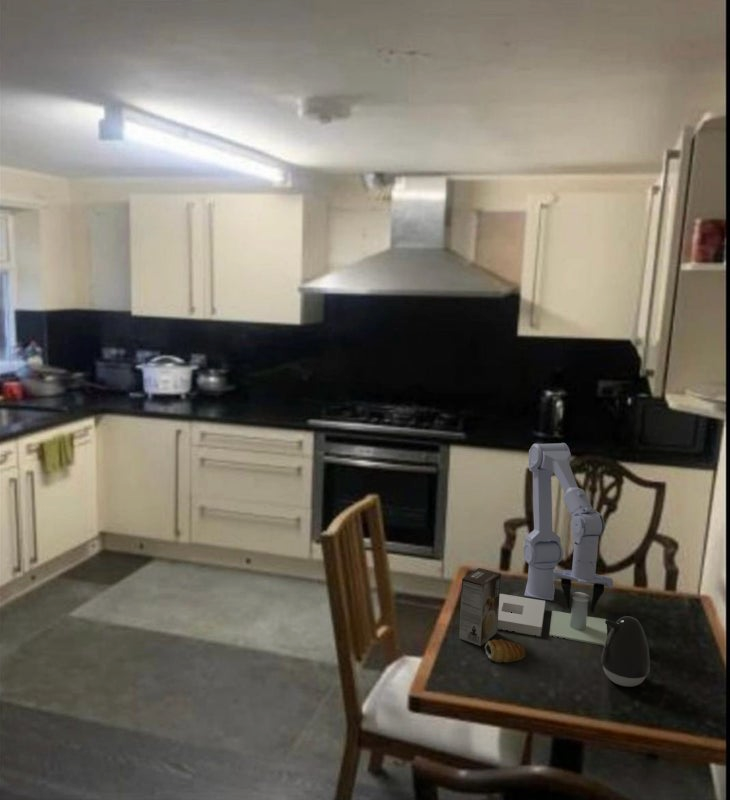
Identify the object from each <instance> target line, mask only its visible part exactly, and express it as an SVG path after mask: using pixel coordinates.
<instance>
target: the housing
mask: <svg viewBox="0 0 730 800" xmlns="http://www.w3.org/2000/svg"><path fill="white" fill-rule="evenodd" d="M545 609H546V600H544V599H538V598H532V597H525V596H524V597H523V596H519V595H517V596H516V595H511V594H505V593H500V595H499V612H498V627H497V630H501V629H502V631H506V630H508V631H507V632H512V631H515V632H514V633H519V634H524V635H529V636H535V635H536V636H535V637H542V630H543V623H544V617H545ZM511 612H512V613H511Z"/></svg>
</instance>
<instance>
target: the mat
mask: <svg viewBox="0 0 730 800" xmlns="http://www.w3.org/2000/svg"><path fill="white" fill-rule="evenodd" d="M570 618H571V612H570V613H569V612H563V611H558V610H552V611H551V617H550V627H549V634H548V636H549V637H552V636H553V637H552V638H557V637H559V638H558V639H563V638H565V639H564V640H569V641H575V642H580V643H581V642H582V643H585V644H586V643H587V644H592V645H599V646H602V647H604V645H605V642H606V639H607V637H608V625H607V624H605V621H606V620H607V619H606V618H602V617H601V618H600V617H593V616H588V615H587V622H586V629H585V630H575V629H573V628H571V627H570Z"/></svg>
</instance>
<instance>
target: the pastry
mask: <svg viewBox="0 0 730 800" xmlns="http://www.w3.org/2000/svg"><path fill="white" fill-rule="evenodd" d="M484 650H485V654H486V656H487V657H488V658H489V660H491V661H492V662H494V663H513V662H515V661H520V660H522V659H523V658H524V659H525V657H526V650H525V647H524V646H523V645H521V644H520V643H516V642H514V641H509V640H504V639H502V638H499V639H494V638H493V639H492V640H488V641H486V642H485V645H484Z"/></svg>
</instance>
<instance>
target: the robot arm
mask: <svg viewBox="0 0 730 800" xmlns="http://www.w3.org/2000/svg"><path fill="white" fill-rule="evenodd" d="M570 451H571V450H570V447H569V445H567V443H565V442H561V443H560V442H559V443H533V444H532V445H531V447H530V449H529V450H528V466H529V467H528V469H529V471H530V472H531V473H532V493H533V496H532V497H533V501H532V503H533V530H532V531H530V532H529V533H528V534H527V535H526V536H525V538H524V545H523V549H522V554H523V558H524V561H525V562H526V563H527V565H528V573H527V583H526V585H525V591H524V597H526V598H532V599H538V600H544V601H554V599H555V597H554V596H555V592H556V591H555V590H556V589H555V588H556V587H555V585H554V584H555V583H554V581H555V580H560V581H561V582H560V585H561V588H562V592H563V594H564V597H565V600H566V601H565V602H566V609H569V610H571V589H572V582H575V583H578V584H582V585H587V584H589V585H593V588H592V597H591V603H590V613H594V611H595V608H596V605H597V603H598V601H599V599H600V598H601V596H602V595H603V593H604V592H605V587H607V588H608V589H613V587H614V578H613V577H609V576H604V575H601V574H598V573H596V571H597V570H596V569H597V561H598V560H597V557H598V547H599V538H600V537H599V536H602V535H603V533H605V528H606V527H605V526H606V524H605V520H604V517H603V515H602V514H601V513H600V512H598V511H597V509H595V508H593V506H592V504H591V501H590V500H589V498H588V496H587V493H586V492H585V490H584V489H583V488H580V487H578V484H577V481H576V479H575V478H576V477H575V476H574V473H573V470H572V468H571V465H570V463H571V459H572V458H571V457H572V454H571V452H570ZM553 475H555V477H556V479H557V481H558V482H559V484H560V486H561V488H562V489H563V491H564V495H563V501H564V503H565V506H566V508H567V510H568V513H569V515H570V516H571V520H572V521H570V527H571V531H572V540H573V542H574V543H573V554H572V564H571V565H572V566H571V570H569V569H567V570H566V569H565V570H563V569H562V570H561V569H556V567H557V566H558V565H559V564H558V563H560V562H562V559H563V556H564V555H563V554H564V550H563V547H562V543H561V542H562V541H561V537H560V536H559V534H557V533H556V532H554V531H553V508H552V507H553V503H552V502H553V498H552V497H553V496H552V476H553Z"/></svg>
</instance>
